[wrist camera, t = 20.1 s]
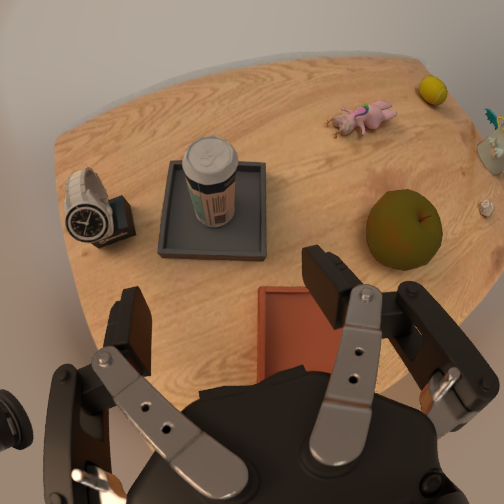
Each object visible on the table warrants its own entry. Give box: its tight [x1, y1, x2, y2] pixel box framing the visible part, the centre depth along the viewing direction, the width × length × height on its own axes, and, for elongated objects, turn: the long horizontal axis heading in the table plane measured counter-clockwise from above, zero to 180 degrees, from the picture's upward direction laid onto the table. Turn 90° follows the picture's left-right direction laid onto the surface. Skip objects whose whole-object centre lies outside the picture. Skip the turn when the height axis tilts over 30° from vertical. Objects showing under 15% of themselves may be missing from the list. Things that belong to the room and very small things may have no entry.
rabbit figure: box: [324, 101, 397, 138], centre depth 37 cm, size 6×6×15 cm
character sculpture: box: [477, 108, 504, 175], centre depth 37 cm, size 20×12×13 cm, turn 19°
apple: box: [366, 189, 443, 271], centre depth 29 cm, size 10×10×11 cm
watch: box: [64, 167, 136, 248], centre depth 26 cm, size 6×8×11 cm
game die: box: [479, 200, 495, 217], centre depth 37 cm, size 4×4×3 cm
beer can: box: [182, 135, 238, 227], centre depth 27 cm, size 5×5×12 cm
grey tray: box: [158, 160, 266, 261], centre depth 32 cm, size 12×12×2 cm
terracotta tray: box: [257, 287, 343, 383], centre depth 29 cm, size 11×11×2 cm
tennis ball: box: [419, 76, 447, 105], centre depth 42 cm, size 7×7×7 cm
